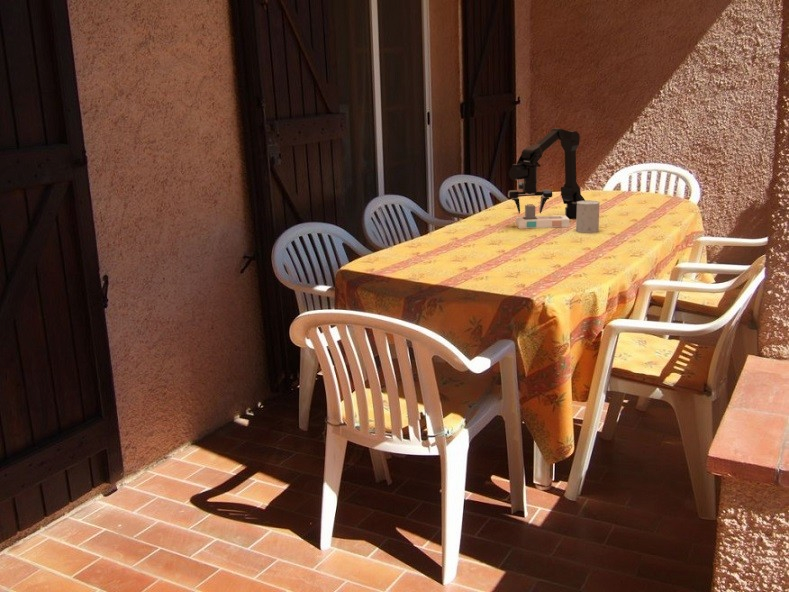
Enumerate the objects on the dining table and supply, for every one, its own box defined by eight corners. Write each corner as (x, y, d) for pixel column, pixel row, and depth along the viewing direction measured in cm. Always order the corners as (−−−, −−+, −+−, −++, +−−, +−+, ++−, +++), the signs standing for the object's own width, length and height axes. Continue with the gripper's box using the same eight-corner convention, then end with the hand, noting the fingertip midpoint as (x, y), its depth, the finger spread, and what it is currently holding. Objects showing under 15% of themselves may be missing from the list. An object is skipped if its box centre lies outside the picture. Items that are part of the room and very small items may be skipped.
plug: (533, 225, 390) (534, 203, 388) (535, 226, 387) (535, 205, 384) (524, 225, 391) (525, 203, 388) (525, 227, 387) (526, 205, 384)
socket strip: (565, 222, 393) (565, 215, 392) (569, 227, 383) (569, 219, 382) (515, 224, 393) (516, 216, 393) (518, 228, 383) (519, 220, 382)
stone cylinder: (573, 232, 373) (573, 203, 370) (579, 228, 381) (580, 200, 378) (595, 233, 368) (596, 204, 365) (601, 229, 377) (602, 201, 373)
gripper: (548, 174, 390) (548, 209, 395) (506, 176, 391) (506, 210, 395) (552, 178, 380) (552, 214, 384) (509, 179, 380) (509, 215, 384)
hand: (529, 213), depth 387 cm, fingers open, 9 cm apart
